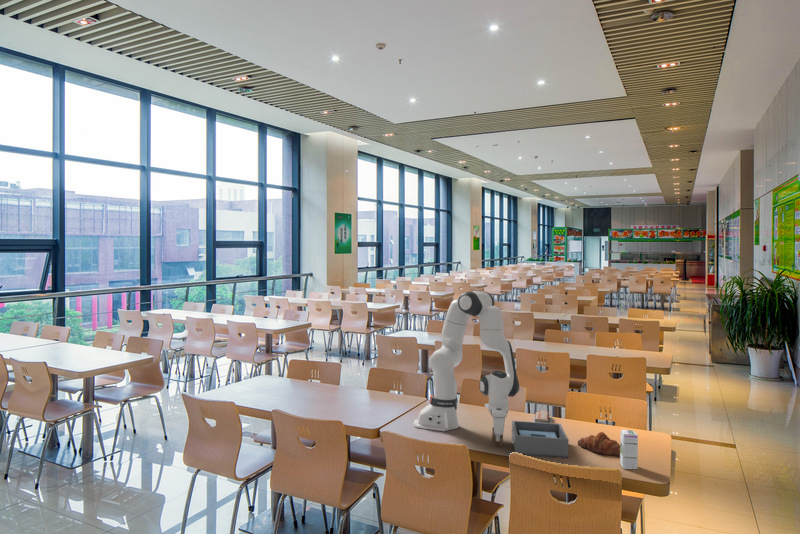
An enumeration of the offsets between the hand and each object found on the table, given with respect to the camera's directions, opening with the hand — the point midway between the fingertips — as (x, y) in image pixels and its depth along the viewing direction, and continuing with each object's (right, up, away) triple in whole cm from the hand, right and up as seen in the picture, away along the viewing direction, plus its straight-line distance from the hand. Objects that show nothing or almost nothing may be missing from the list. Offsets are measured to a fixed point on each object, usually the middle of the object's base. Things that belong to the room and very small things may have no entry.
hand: (497, 438), depth 242 cm
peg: (0, -3, 0) cm, 3 cm away
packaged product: (+29, -4, +35) cm, 46 cm away
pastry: (+46, -4, -4) cm, 46 cm away
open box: (+18, -3, -2) cm, 18 cm away
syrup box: (+49, -5, -23) cm, 54 cm away
